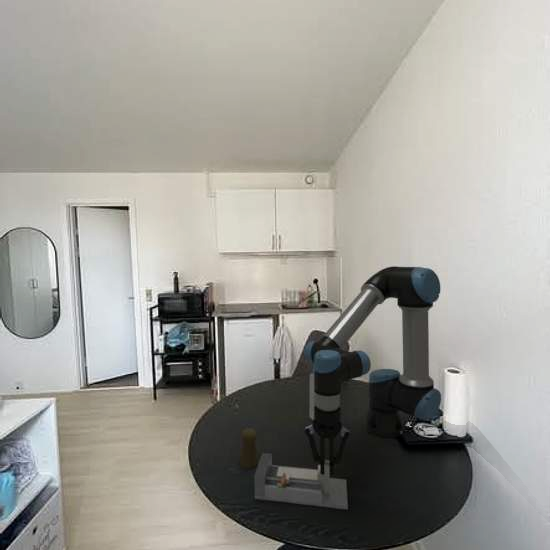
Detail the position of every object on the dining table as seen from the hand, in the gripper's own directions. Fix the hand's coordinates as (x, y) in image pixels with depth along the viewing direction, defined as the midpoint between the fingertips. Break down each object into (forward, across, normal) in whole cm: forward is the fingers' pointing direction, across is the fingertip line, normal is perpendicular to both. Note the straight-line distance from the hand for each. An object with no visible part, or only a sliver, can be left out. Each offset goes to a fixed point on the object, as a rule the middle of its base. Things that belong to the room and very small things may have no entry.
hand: (326, 484), depth 100 cm
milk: (+3, +4, -45) cm, 45 cm away
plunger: (+2, +8, 0) cm, 8 cm away
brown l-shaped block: (+2, +13, +4) cm, 14 cm away
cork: (+3, +26, -11) cm, 28 cm away
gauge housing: (+3, +7, 0) cm, 8 cm away
